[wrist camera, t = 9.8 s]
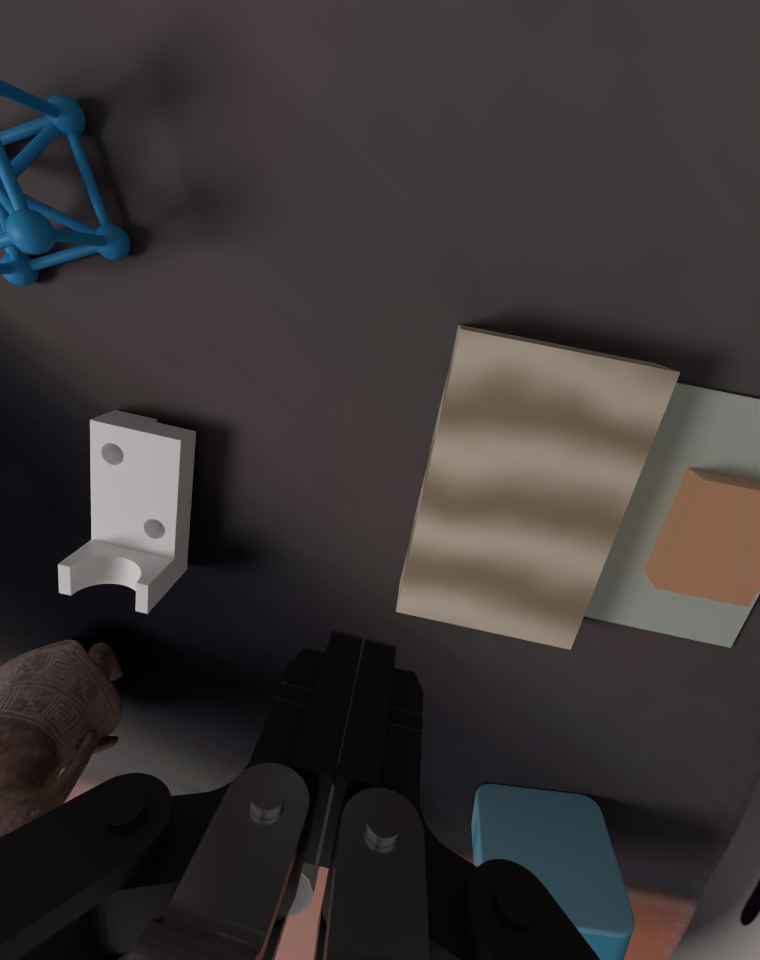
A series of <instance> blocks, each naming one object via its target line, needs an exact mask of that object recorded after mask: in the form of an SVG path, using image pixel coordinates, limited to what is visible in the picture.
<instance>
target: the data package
mask: <svg viewBox="0 0 760 960" xmlns="http://www.w3.org/2000/svg"><path fill="white" fill-rule="evenodd" d="M472 842H473V859H474V865H475V866H477V867H478V866H479V865H481V864H482V863H484V862H486V861H488V860H492V859H505V860H510V861H513V862H516V863H518V864H520V865H522V866H523V867H525V868H526V869H528V870H529V871H530V872H532V873H533V874H534V875H535V876H536V877H537V878H538V879H539V880H540V881H541V882H542V884H543V885H544V886H545V887H546V889H547V890H548V891H549V893H550V894H551V895H552V897H553V898H554V899H555V900H556V902H557V903H558V904H559V906H560V907H561V908H562V910H563V911H564V912H565V914H566V915H567V916H568V918H569V919H570V920H571V922H572V923H573V924H574V925H575V927H576V928H577V929H578V931H579V932H580V933H581V935H582V936H583V937H584V939H585V940H586V941H587V943H588V944H589V945H590V946H591V948H592V949H593V950H594V952H595V953H596V954H597V956H598V957H599V958H600V960H623V959H624V956H625V953H626V950H627V947H628V944H629V941H630V938H631V935H632V932H633V929H634V925H635V921H634V915H633V912H632V909H631V906H630V902H629V899H628V896H627V893H626V889H625V886H624V883H623V880H622V876H621V873H620V870H619V867H618V863H617V860H616V857H615V854H614V850H613V847H612V844H611V841H610V837H609V834H608V831H607V828H606V824H605V821H604V818H603V815H602V812H601V809H600V807H599V806H598V805H597V803H596V802H595V801H594V800H592V799H591V798H589V797H587V796H585V795H582V794H575V793H566V792H558V791H549V790H541V789H532V788H524V787H515V786H507V785H498V784H484V785H482V786H480V787H479V788H478V790H477V791H476V795H475V802H474V810H473V817H472Z"/></svg>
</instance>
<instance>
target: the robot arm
mask: <svg viewBox="0 0 760 960" xmlns="http://www.w3.org/2000/svg"><path fill="white" fill-rule="evenodd" d="M362 639H363V637H361V636H356V635H351V634H347V633H342V632H338V631H332V633H331V636H330V639H329V642H328V646H327V649H326V652H325V653H324V652H319V651H315V650H310V649H306V648H304V649H303V650H302V651H301V652H300V653H299V654H298V655H296V656H295V657H294V658H293V659H292V660H291V661H290V662H289V664H288V666H287V669H286V671H285V674H284V676H283V679H282V682H281V684H280V686H279V689H278V691H277V694H276V697H275V700H274V702H273V704H272V707H271V709H270V712H269V714H268V717H267V719H266V722H265V724H264V727H263V729H262V732H261V734H260V737H259V739H258V742H257V744H256V747H255V749H254V752H253V754H252V757H251V759H250V761H249V763H248V765H247V767H246V768H245V769H244V771H242V772H241V773H240V774H239V775H238V776H236V778H235V779H234V780H233V781H232V782H230V783H229V784H227V785H225V786H223V787H221V788H219V789H216V790H213V791H210V792H204V793H196V794H186V795H176V796H171V794H170V792H169V790H168V788H167V786H166V785H165V784H164V783H163V782H162V781H161V780H160V779H158V778H156V777H154V776H152V775H148V774H143V773H129V774H124V775H120V776H117V777H114V778H112V779H110V780H107V781H105V782H103V783H102V784H100V785H98V786H96V787H94V788H92V789H90V790H88V791H87V792H85V793H83V794H81V795H79V796H77V797H75V798H73V799H72V800H70V801H68V802H66V803H64V804H62V805H60V806H58V807H57V808H55V809H53V810H51V811H49V812H47V813H45V814H43V815H42V816H40V817H38V818H36V819H34V820H32V821H30V822H29V823H27V824H25V825H23V826H21V827H19V828H17V829H15V830H14V831H12V832H10V833H8V834H6V835H4V836H2V837H0V960H275V957H276V953H277V950H278V947H279V944H280V940H281V937H282V934H283V931H284V927H285V924H286V921H287V918H288V914H289V910H290V908H291V906H292V904H293V902H294V900H295V897H296V893H297V889H298V885H299V881H300V876H301V872H302V868H303V864H304V863H307V864H312V865H315V861H316V856H317V851H318V847H319V842H320V837H321V833H322V828H323V824H324V819H325V814H326V810H327V805H328V800H329V796H330V791H331V786H332V782H333V777H334V772H335V768H336V763H337V758H338V754H339V749H340V744H341V740H342V735H343V730H344V726H345V721H346V716H347V712H348V707H349V702H350V697H351V693H352V688H353V683H354V678H355V673H356V668H357V664H358V659H359V654H360V649H361V644H362ZM395 652H396V644H393V643H389V642H384V641H379V640H375V639H370V638H366V639H365V643H364V648H363V653H362V658H361V663H360V667H359V672H358V677H357V682H356V687H355V691H354V696H353V701H352V706H351V711H350V715H349V720H348V725H347V730H346V735H345V739H344V744H343V749H342V754H341V759H340V763H339V768H338V773H337V778H336V783H335V788H334V792H333V797H332V802H331V807H330V812H329V816H328V821H327V826H326V831H325V836H324V840H323V845H322V850H321V855H320V860H319V864H318V866H321V867H326V868H329V870H328V876H327V881H326V886H325V892H324V897H323V902H322V906H321V911H320V916H319V921H318V928H317V936H316V944H315V952H314V960H600V958H599V957H598V956H597V954H596V953H595V952H594V950H593V949H592V948H591V946H590V945H589V944H588V943H587V941H586V940H585V939H584V937H583V936H582V935H581V933H580V932H579V931H578V929H577V928H576V927H575V925H574V924H573V923H572V922H571V920H570V919H569V918H568V916H567V915H566V914H565V912H564V911H563V910H562V908H561V907H560V906H559V904H558V903H557V902H556V900H555V899H554V898H553V897H552V895H551V894H550V893H549V891H548V890H547V889H546V887H545V886H544V885H543V884H542V882H541V881H540V880H539V879H538V878H537V877H536V876H535V875H534V874H533V873H532V872H530V871H529V870H528V869H526V868H525V867H523V866H522V865H520V864H518V863H516V862H513V861H510V860H505V859H492V860H488V861H486V862H484V863H482V864H481V865H479V866H478V867H477V866H475V865H474V864H472V863H470V862H469V861H467V860H465V859H464V858H462V857H460V856H459V855H457V854H455V853H454V852H452V851H451V850H449V849H448V848H446V847H445V846H444V845H443V844H442V843H441V842H439V841H438V840H437V838H436V837H435V836H434V835H433V834H432V832H431V831H430V830H429V828H428V827H427V825H426V823H425V821H424V818H423V816H422V813H421V809H420V802H419V791H420V765H421V740H422V733H421V731H422V712H423V690H422V688H421V685H420V683H419V681H418V678H417V676H416V674H415V672H410V671H406V670H401V669H397V668H394V661H395Z"/></svg>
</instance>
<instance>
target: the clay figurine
mask: <svg viewBox="0 0 760 960" xmlns="http://www.w3.org/2000/svg"><path fill="white" fill-rule="evenodd" d="M122 675H123V671H122V669H121V668H120V666H119V663H118V661H117V659H116V656H115V654H114V652H113V649H112V648H111V647H109V646H108V645H106V644H105V643H102V642H101V643H97V644H95V645H93V646H92V647H91V648H90V650H89V654H88V653H87V652H86V650H85V649H84V647H83V646H82V645H81V644H80V643H79V642H78V641H75V640H65V641H62V642H56V643H53V644H49V645H46V646H43V647H40V648H37V649H34V650H31V651H29V652H26V653H24V654H22V655H19V656H17V657H16V658H14V659H12V660H10V661H8V662H7V663H5V664H4V665H2V666H1V667H0V837H2V836H4V835H6V834H8V833H10V832H12V831H14V830H15V829H17V828H19V827H21V826H23V825H25V824H27V823H29V822H30V821H32V820H34V819H36V818H38V817H40V816H42V815H43V814H45V813H47V812H49V811H51V810H53V809H55V808H57V807H58V806H60V805H62V804H63V803H64V802H65V800H66V799H67V797H68V796H69V794H70V793H71V791H72V789H73V788H74V786H75V784H76V782H77V780H78V779H79V777H80V776H81V774H82V772H83V770H84V769H85V767H86V765H87V764H88V762H89V760H90V757H91V755H92V754H94V753H97V752H100V751H103V750H105V749H108V748H110V747H112V746H113V745H115V744H116V743H117V742H118V737H117V736H107V735H108V734H111V733H112V732H113V731H114V730H115V729H116V727H117V726H118V724H119V722H120V720H121V718H122V700H121V698H120V695H119V693H118V692H117V690H116V688H115V686H114V685H113V683H112V682H111V681H113V680H116V679H118V678H120V677H121V676H122ZM64 767H66V769H65V770H64V771H63V773H62V774H61V775H60V776H59V777H58V775H59V773H60V770H61V769H63V768H64ZM57 777H58V778H57Z"/></svg>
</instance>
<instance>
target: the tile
mask: <svg viewBox="0 0 760 960" xmlns="http://www.w3.org/2000/svg"><path fill="white" fill-rule="evenodd" d="M644 573H645V574H646V575H647V577H648V578H649V580H650V581H651V582H652V584H653V585H654V587H655V588H657V589H661V590H666V591H671V592H676V593H681V594H686V595H691V596H695V597H700V598H705V599H710V600H715V601H720V602H724V603H729V604H734V605H739V606H744V607H749V606H750V604H751V602H752V601H753V599H754V597H755V595H756V593H757V591H758V589H759V587H760V482H758V481H752V480H747V479H742V478H737V477H732V476H727V475H722V474H717V473H712V472H707V471H702V470H697V469H692V468H687V470H686V472H685V475H684V477H683V479H682V482H681V484H680V486H679V489H678V491H677V493H676V496H675V498H674V501H673V503H672V505H671V508H670V510H669V512H668V515H667V517H666V519H665V522H664V524H663V527H662V529H661V531H660V534H659V536H658V538H657V541H656V543H655V545H654V548H653V550H652V553H651V555H650V557H649V560H648V562H647V564H646V567H645V569H644Z"/></svg>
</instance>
